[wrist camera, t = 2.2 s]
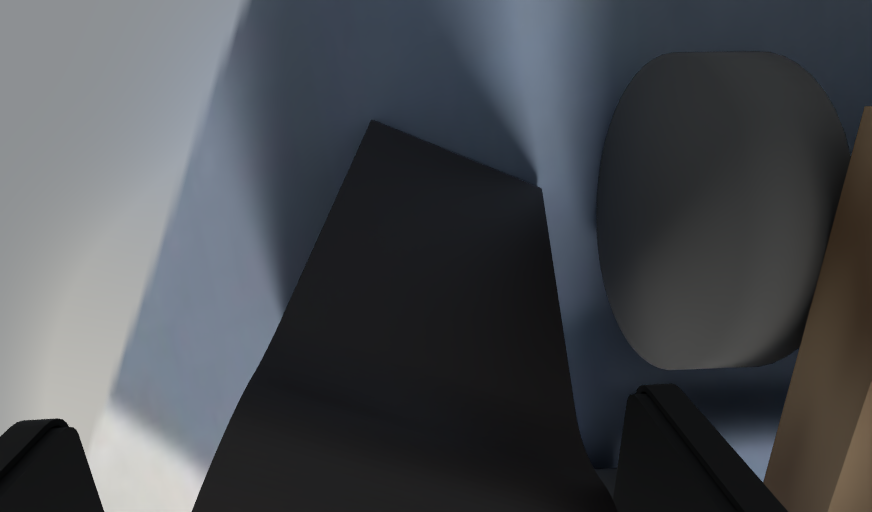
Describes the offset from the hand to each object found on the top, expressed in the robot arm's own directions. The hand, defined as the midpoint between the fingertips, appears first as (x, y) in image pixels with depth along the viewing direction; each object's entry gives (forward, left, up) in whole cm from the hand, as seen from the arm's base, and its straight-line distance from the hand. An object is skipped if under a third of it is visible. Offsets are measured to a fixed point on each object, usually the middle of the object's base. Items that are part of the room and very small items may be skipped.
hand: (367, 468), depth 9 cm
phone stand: (-1, 0, -10) cm, 10 cm away
